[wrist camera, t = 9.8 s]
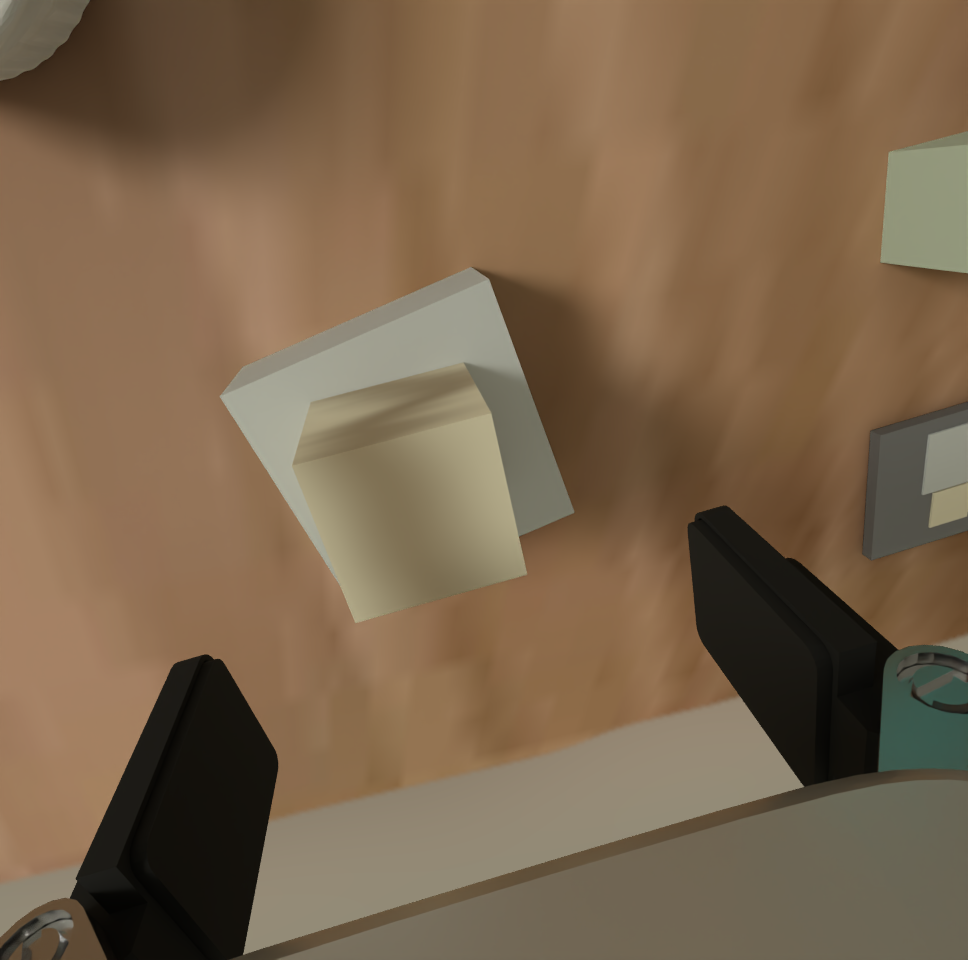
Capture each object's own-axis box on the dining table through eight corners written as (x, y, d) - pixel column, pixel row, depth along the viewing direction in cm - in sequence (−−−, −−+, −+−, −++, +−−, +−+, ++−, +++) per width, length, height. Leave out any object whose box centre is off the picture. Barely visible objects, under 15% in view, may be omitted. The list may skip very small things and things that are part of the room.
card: (1029, 383, 28) (1045, 387, 27) (1005, 509, 31) (1018, 516, 30) (870, 430, 27) (882, 436, 27) (862, 554, 30) (872, 561, 30)
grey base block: (469, 266, 22) (488, 279, 18) (546, 469, 26) (574, 512, 22) (244, 364, 22) (219, 396, 18) (356, 551, 26) (353, 607, 22)
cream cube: (463, 362, 19) (491, 412, 15) (494, 495, 21) (527, 574, 17) (310, 402, 19) (291, 465, 14) (358, 532, 21) (355, 622, 17)
